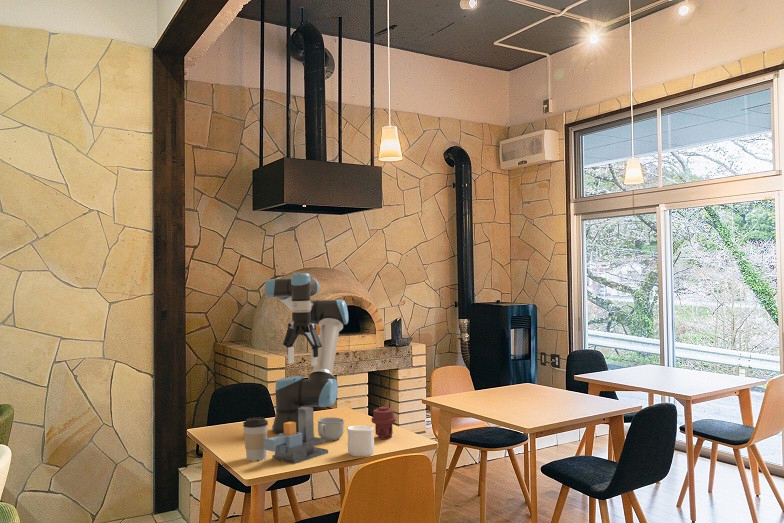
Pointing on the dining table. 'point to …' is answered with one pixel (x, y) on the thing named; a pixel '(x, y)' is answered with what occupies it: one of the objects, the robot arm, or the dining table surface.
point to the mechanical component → (383, 422)
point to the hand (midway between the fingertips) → (302, 364)
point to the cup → (360, 440)
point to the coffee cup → (255, 438)
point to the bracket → (283, 442)
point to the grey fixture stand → (303, 440)
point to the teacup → (330, 428)
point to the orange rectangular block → (290, 428)
